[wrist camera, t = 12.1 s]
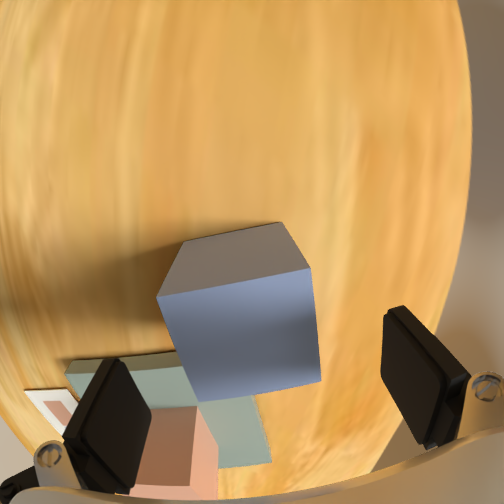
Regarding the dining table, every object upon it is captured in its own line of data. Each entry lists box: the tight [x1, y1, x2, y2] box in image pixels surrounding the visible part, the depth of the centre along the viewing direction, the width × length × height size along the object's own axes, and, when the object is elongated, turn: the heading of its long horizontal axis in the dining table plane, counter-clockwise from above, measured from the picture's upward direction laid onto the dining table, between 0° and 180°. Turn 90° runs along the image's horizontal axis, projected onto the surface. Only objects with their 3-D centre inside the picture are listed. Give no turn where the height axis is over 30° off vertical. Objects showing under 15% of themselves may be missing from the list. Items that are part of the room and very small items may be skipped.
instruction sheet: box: [24, 389, 78, 436], centre depth 20 cm, size 8×6×1 cm
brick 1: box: [122, 406, 219, 500], centre depth 15 cm, size 5×5×6 cm
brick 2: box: [156, 222, 321, 402], centre depth 13 cm, size 5×5×6 cm
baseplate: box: [64, 352, 272, 469], centre depth 18 cm, size 12×12×2 cm
